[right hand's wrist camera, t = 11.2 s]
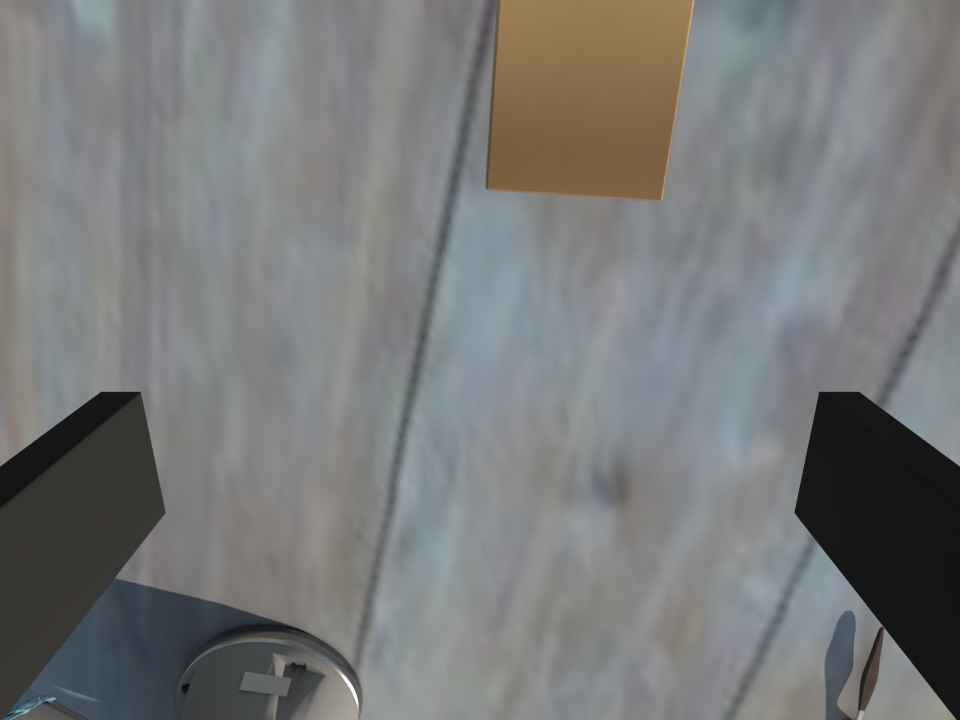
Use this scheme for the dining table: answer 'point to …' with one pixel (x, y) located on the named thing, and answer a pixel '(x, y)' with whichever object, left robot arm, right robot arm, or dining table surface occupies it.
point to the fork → (870, 675)
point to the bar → (585, 96)
